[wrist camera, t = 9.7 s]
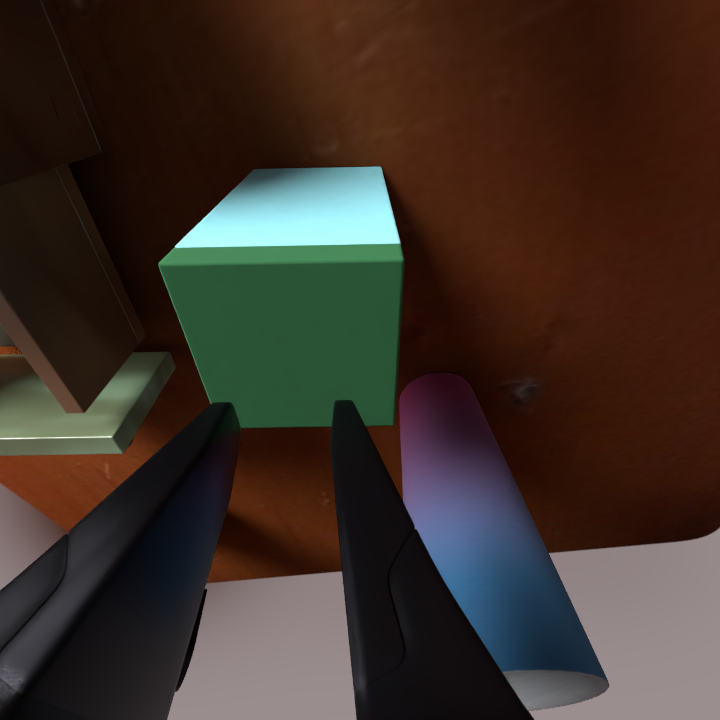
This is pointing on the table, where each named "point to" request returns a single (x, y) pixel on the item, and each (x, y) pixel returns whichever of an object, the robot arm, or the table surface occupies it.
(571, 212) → the table surface
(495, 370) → the table surface
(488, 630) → the cup
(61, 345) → the drawer
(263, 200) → the sponge
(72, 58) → the cabinet
